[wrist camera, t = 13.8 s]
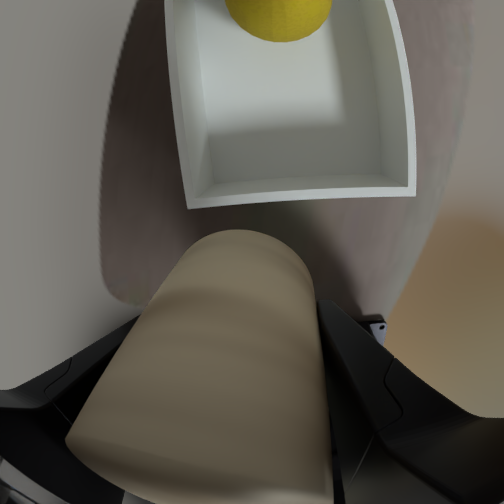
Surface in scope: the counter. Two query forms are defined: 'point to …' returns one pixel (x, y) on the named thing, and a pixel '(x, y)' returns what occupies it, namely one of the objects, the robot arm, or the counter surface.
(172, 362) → the birch peg
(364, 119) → the tote
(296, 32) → the lemon
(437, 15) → the counter surface
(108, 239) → the counter surface
